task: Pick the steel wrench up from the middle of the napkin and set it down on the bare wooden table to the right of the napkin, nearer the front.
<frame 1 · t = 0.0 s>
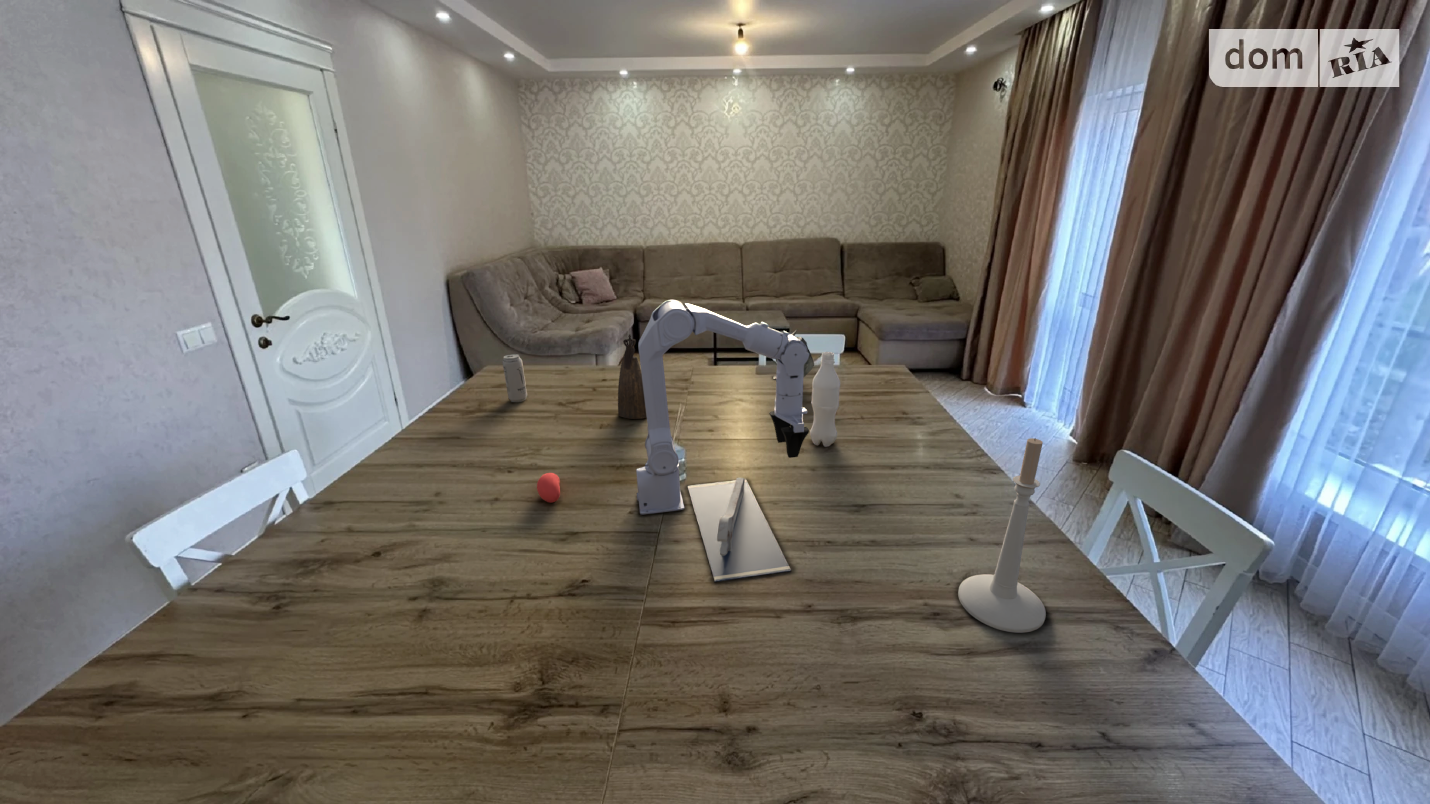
hand: (787, 449, 122), 10 cm above the table, tool pointing down, fingers open, 7 cm apart
stress ball: (551, 495, 125), on the table
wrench: (732, 523, 113), resting on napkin
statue: (633, 416, 168), on the table
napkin: (732, 523, 113), on the table
candlestick: (1000, 604, 91), on the table
water bottle: (822, 443, 148), on the table
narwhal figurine: (792, 384, 192), on the table
energy drink can: (518, 400, 183), on the table
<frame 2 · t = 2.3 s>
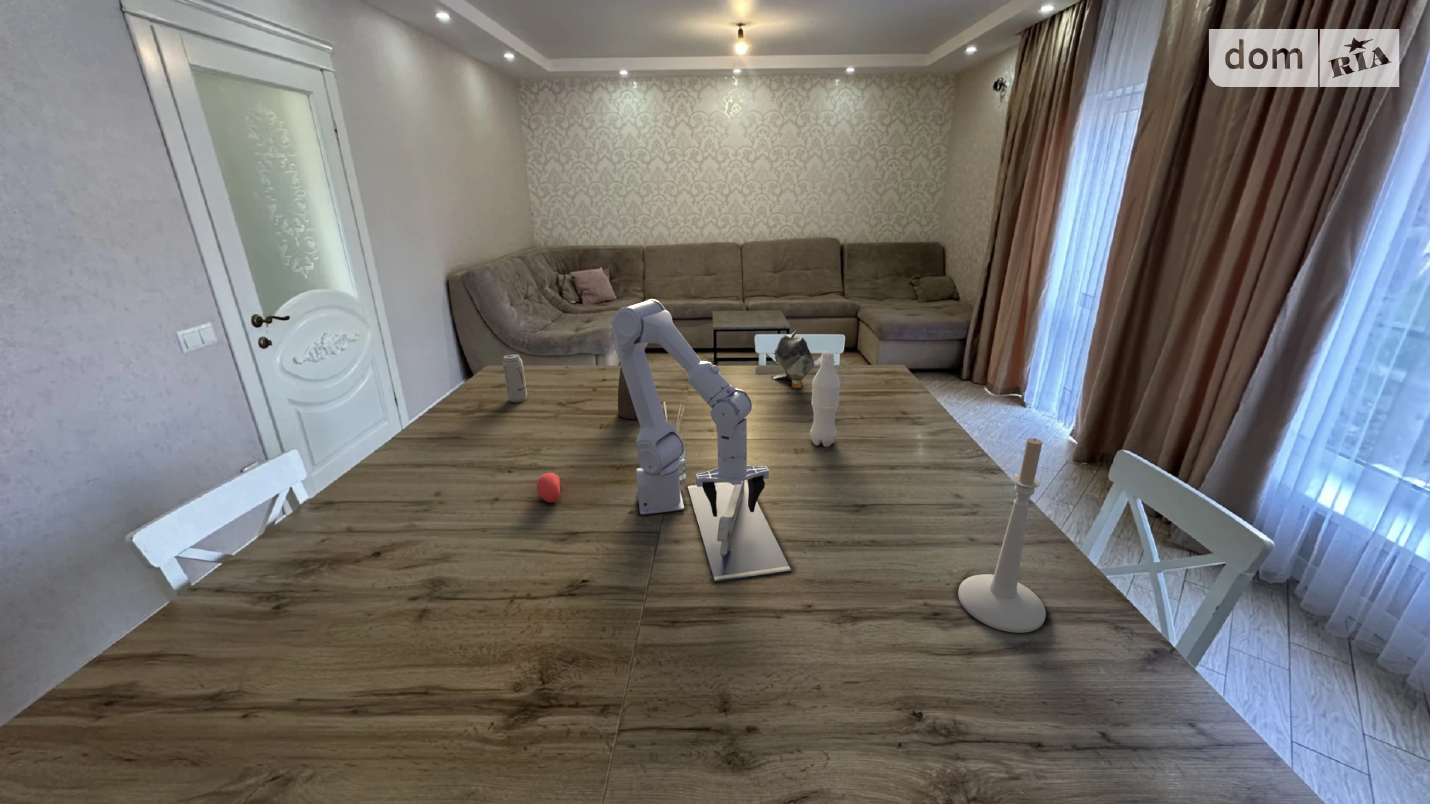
hand: (732, 511, 112), 3 cm above the table, tool pointing down, fingers open, 7 cm apart
nothing on the table moved.
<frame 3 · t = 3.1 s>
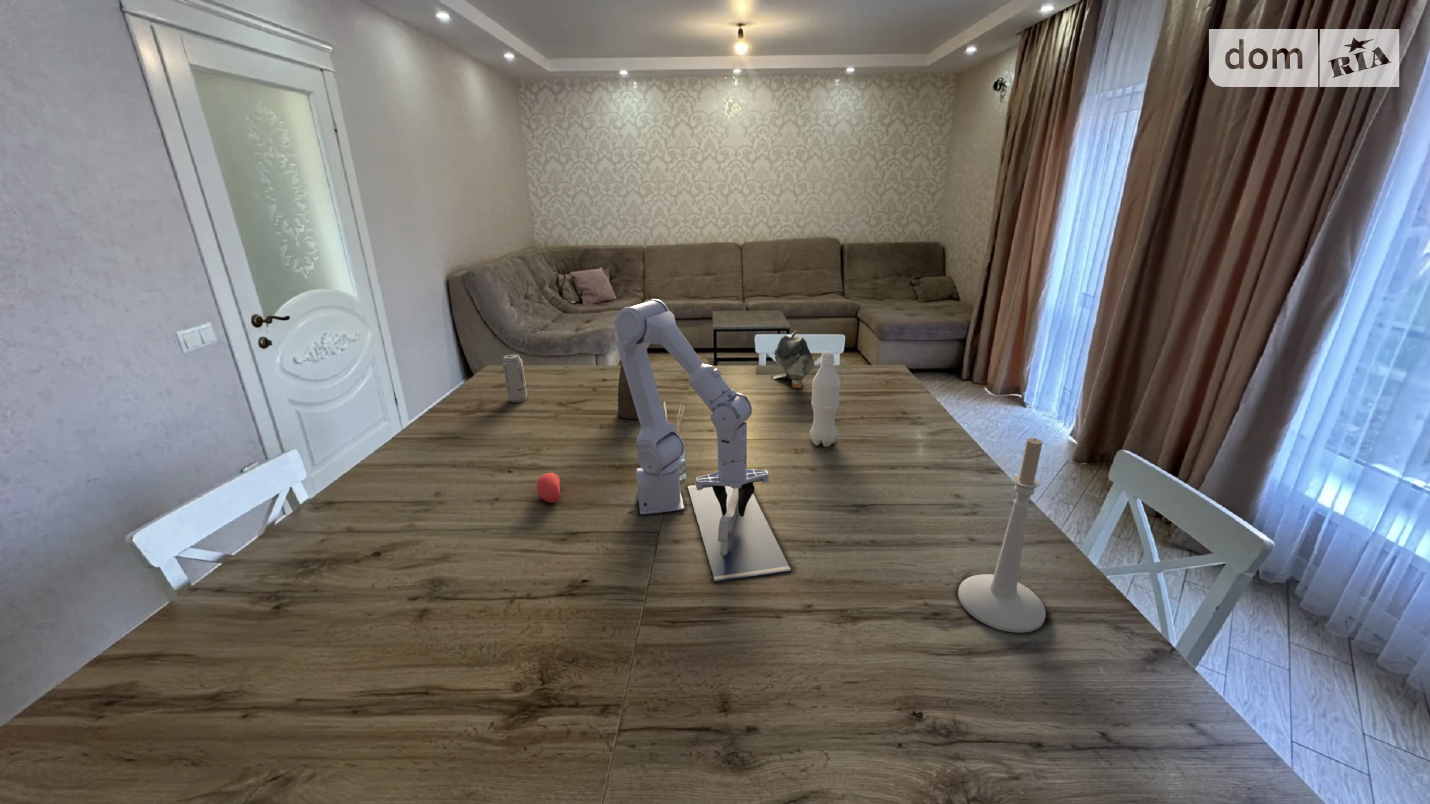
hand: (732, 515, 113), 2 cm above the table, tool pointing down, fingers closed on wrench, 3 cm apart
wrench: (732, 523, 113), resting on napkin, touching gripper
everything else where it was.
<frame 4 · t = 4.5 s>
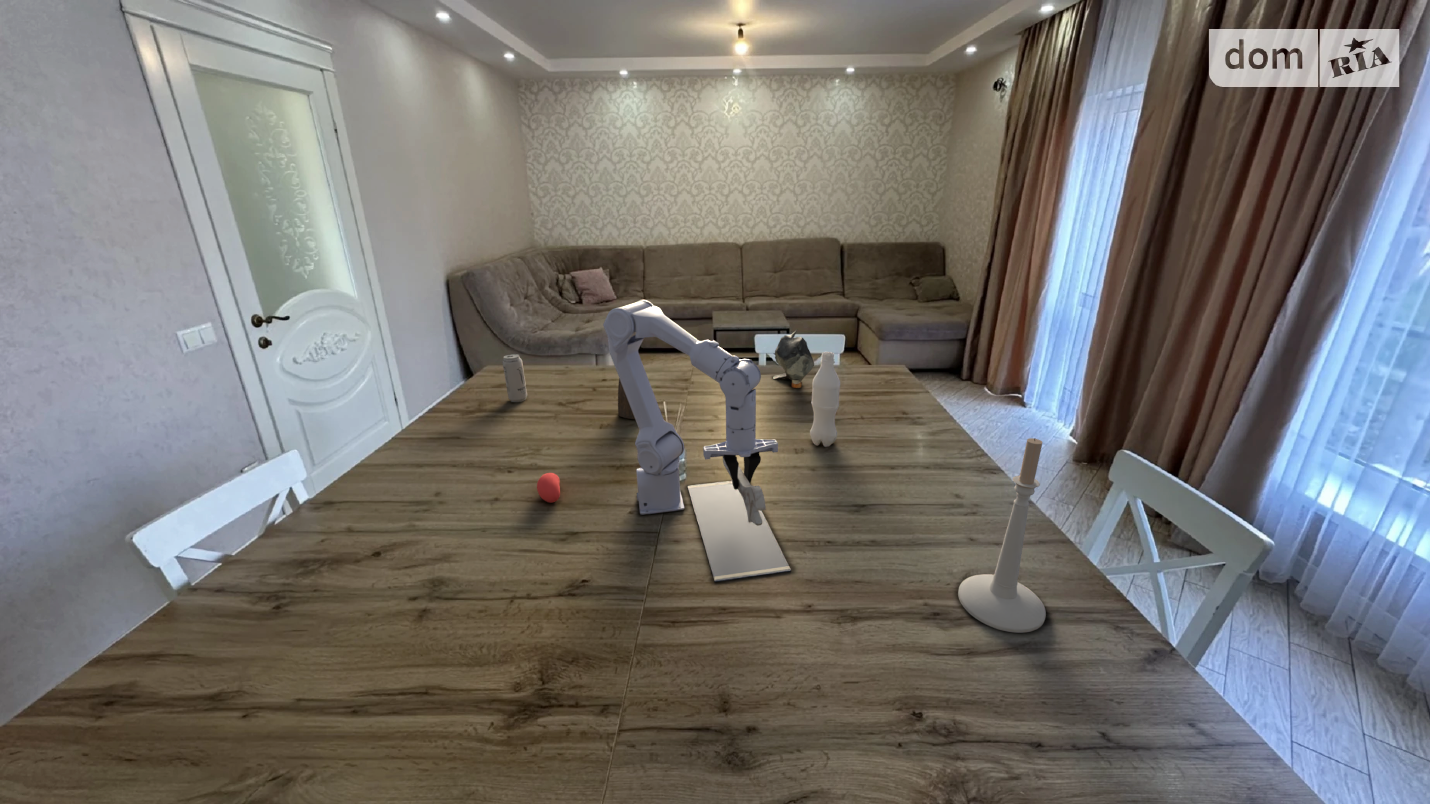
hand: (740, 486, 110), 9 cm above the table, tool pointing down, fingers closed on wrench
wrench: (741, 496, 111), point 7 cm above the table, touching gripper
everything else where it was.
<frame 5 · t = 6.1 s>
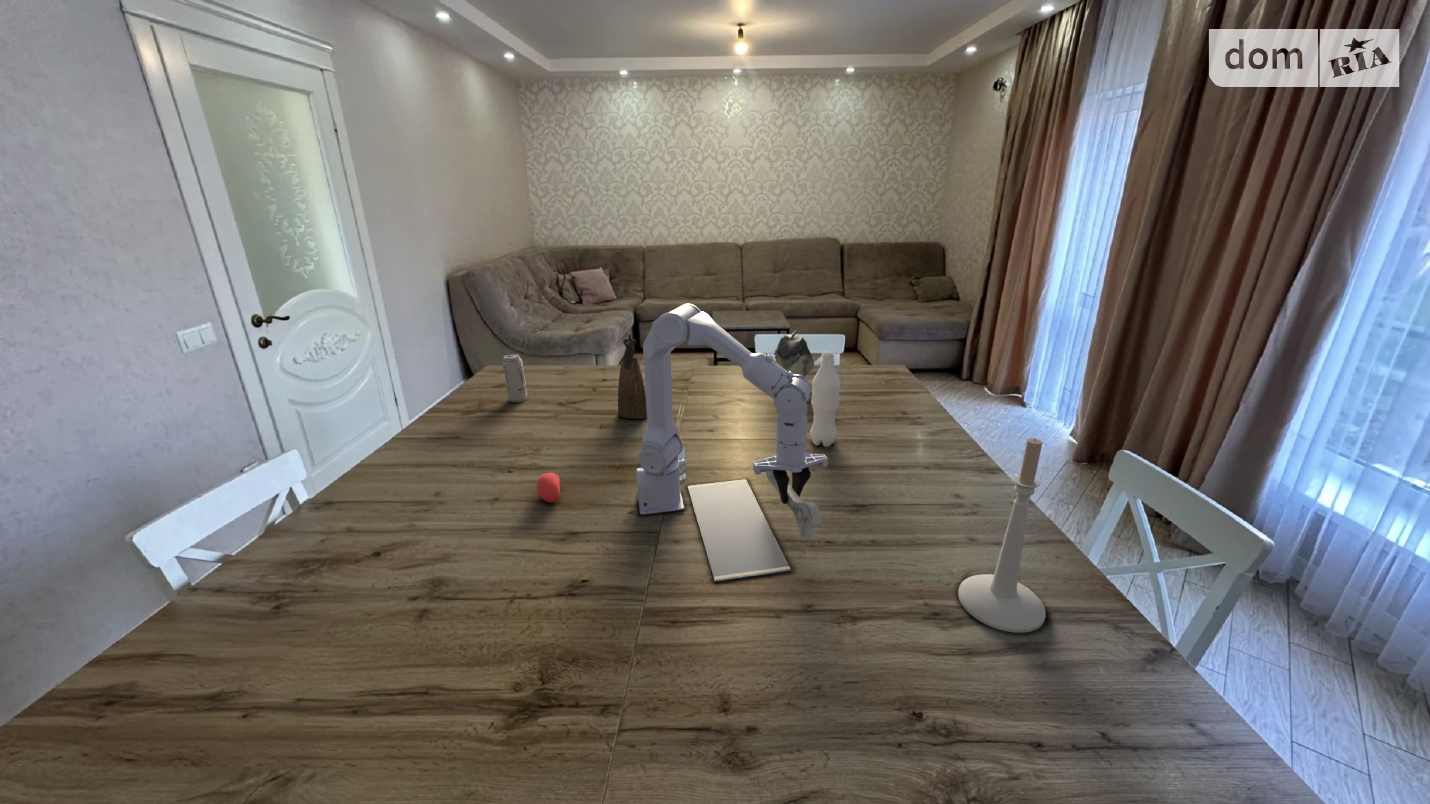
hand: (789, 500, 110), 6 cm above the table, tool pointing down, fingers closed on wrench
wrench: (789, 510, 111), point 4 cm above the table, touching gripper
everything else where it was.
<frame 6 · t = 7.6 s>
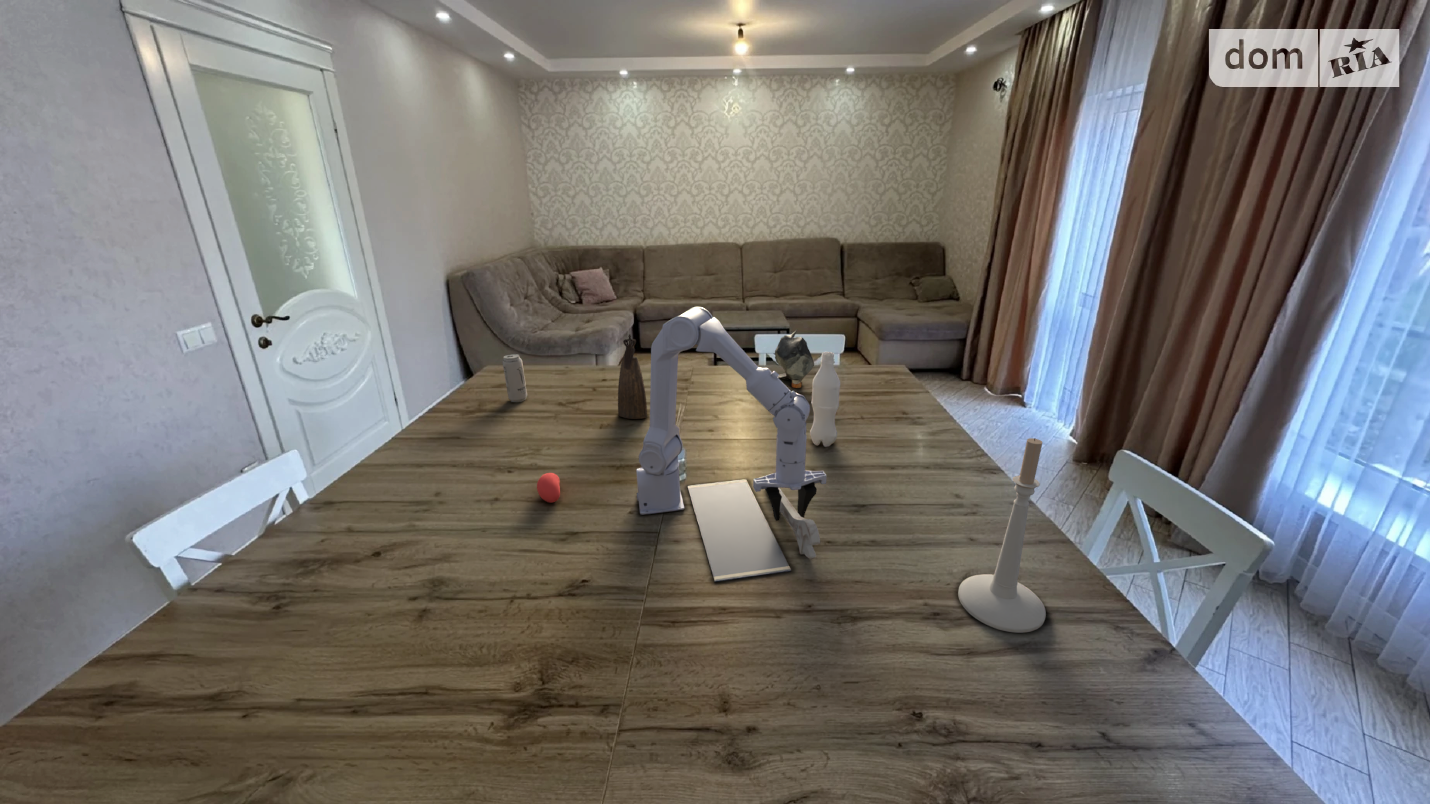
hand: (788, 516, 112), 2 cm above the table, tool pointing down, fingers open, 4 cm apart
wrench: (788, 526, 112), on the table
everything else where it was.
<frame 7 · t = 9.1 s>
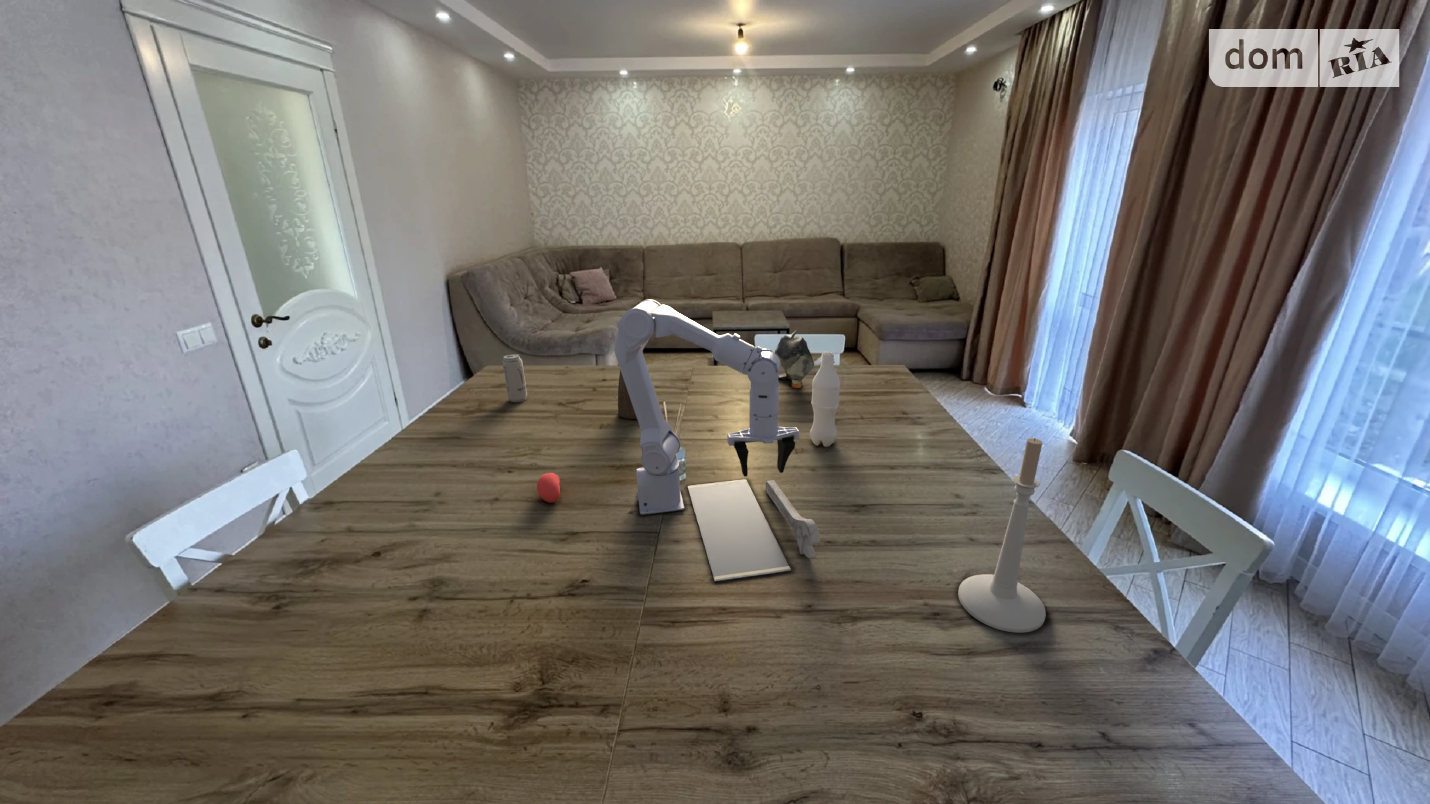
hand: (762, 472, 114), 9 cm above the table, tool pointing down, fingers open, 7 cm apart
nothing on the table moved.
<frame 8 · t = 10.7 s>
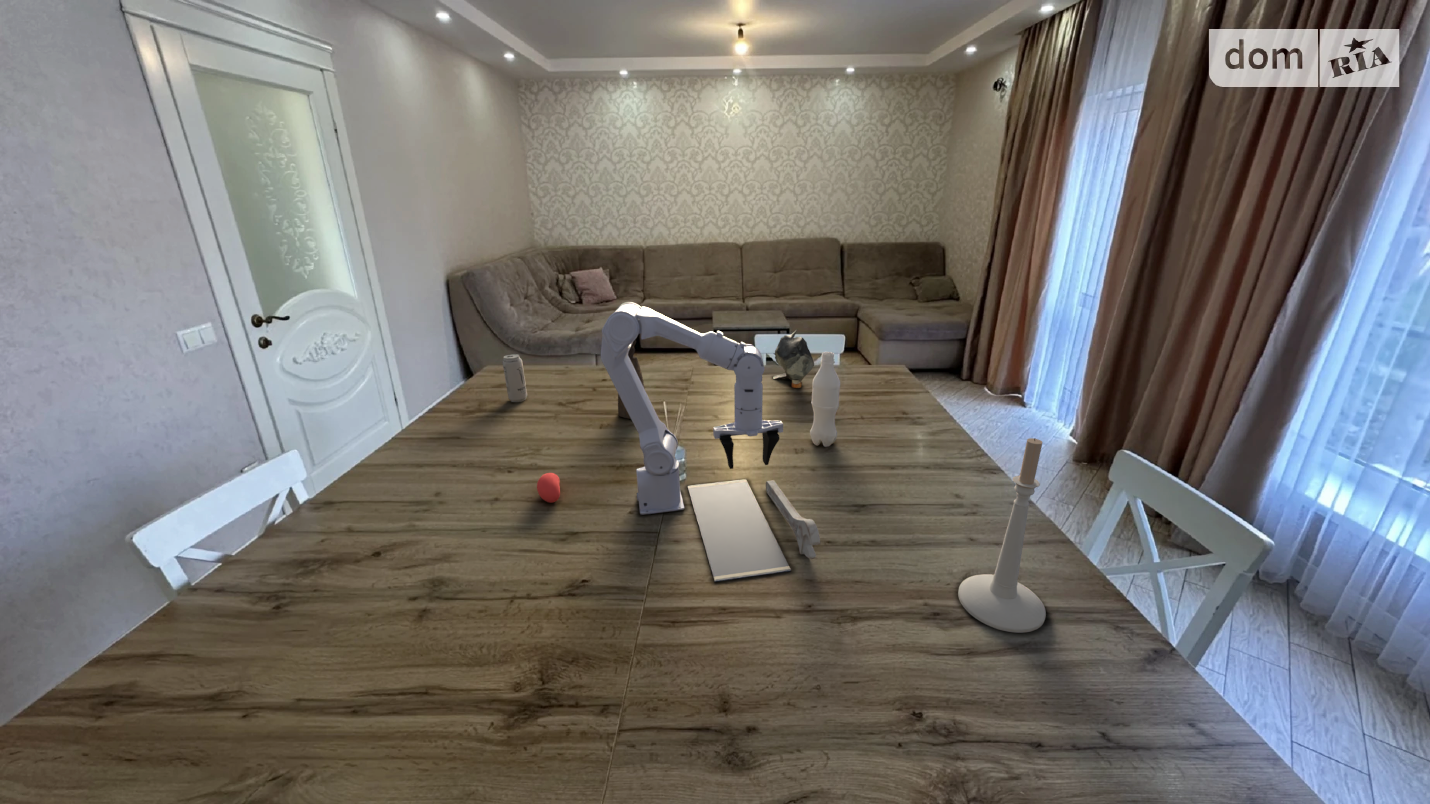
hand: (748, 464, 117), 9 cm above the table, tool pointing down, fingers open, 7 cm apart
nothing on the table moved.
at the end: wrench inside the target area (0.6 cm from its centre), on the table; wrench touching table; the gripper is holding nothing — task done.
